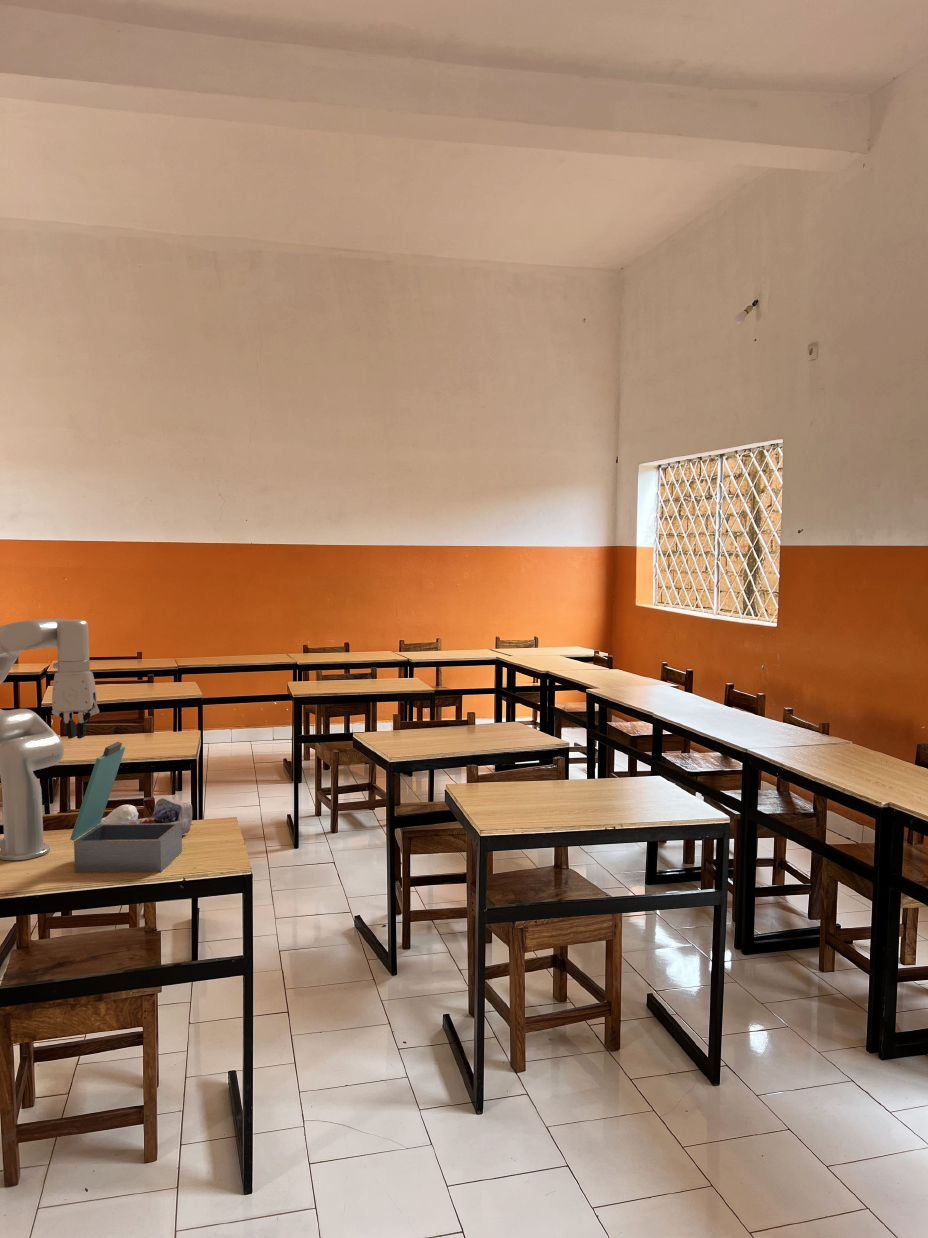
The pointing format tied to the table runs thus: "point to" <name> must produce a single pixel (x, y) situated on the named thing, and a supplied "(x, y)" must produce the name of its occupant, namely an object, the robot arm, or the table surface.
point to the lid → (98, 790)
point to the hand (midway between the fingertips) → (76, 737)
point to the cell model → (169, 814)
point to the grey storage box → (128, 848)
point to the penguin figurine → (121, 815)
